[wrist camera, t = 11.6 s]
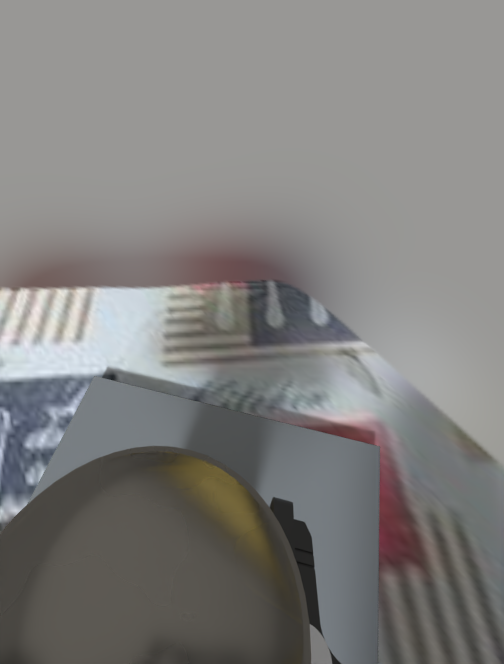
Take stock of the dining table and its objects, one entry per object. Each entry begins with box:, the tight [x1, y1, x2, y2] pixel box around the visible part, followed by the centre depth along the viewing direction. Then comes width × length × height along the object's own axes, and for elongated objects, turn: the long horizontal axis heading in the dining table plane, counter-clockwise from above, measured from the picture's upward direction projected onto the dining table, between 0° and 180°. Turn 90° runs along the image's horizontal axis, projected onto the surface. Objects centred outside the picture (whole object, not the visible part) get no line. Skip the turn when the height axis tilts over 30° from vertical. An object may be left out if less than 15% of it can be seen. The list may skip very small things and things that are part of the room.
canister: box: [0, 446, 311, 664], centre depth 10 cm, size 5×5×12 cm
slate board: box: [27, 376, 380, 664], centre depth 17 cm, size 20×14×1 cm
